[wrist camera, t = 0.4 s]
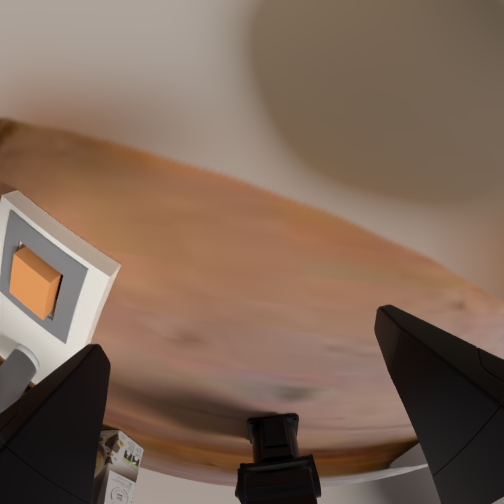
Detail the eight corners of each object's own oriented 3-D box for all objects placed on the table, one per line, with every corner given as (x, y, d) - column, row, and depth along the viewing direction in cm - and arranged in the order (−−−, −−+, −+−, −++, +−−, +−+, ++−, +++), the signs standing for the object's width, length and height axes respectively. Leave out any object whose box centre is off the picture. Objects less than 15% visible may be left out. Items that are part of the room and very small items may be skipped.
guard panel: (17, 189, 19) (-1, 195, 16) (121, 264, 22) (108, 278, 20) (1, 339, 25) (-8, 350, 23) (74, 394, 29) (67, 407, 26)
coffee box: (119, 428, 31) (94, 514, 16) (144, 448, 33) (129, 529, 18) (83, 429, 32) (58, 502, 17) (108, 449, 34) (89, 519, 19)
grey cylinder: (44, 371, 24) (-3, 453, 11) (25, 366, 24) (-21, 440, 11) (30, 346, 22) (-27, 428, 9) (12, 342, 22) (-43, 416, 9)
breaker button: (26, 245, 19) (13, 253, 17) (61, 273, 20) (50, 283, 18) (20, 283, 20) (9, 292, 18) (52, 309, 21) (43, 320, 19)
